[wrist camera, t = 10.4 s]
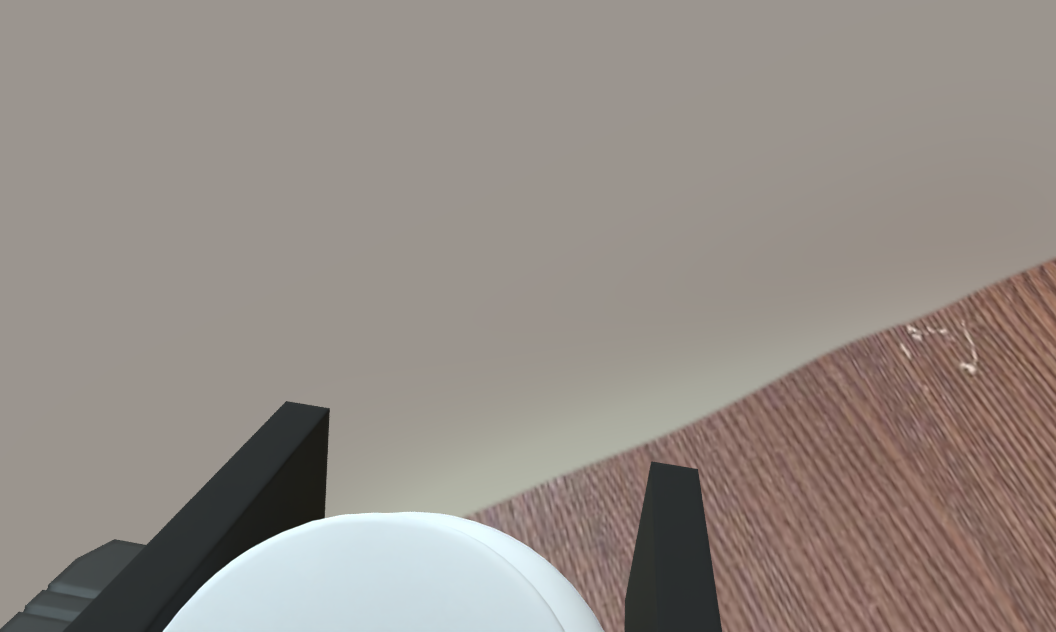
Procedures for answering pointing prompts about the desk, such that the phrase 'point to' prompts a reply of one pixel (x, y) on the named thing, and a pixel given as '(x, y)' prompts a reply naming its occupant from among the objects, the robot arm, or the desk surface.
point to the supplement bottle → (388, 581)
